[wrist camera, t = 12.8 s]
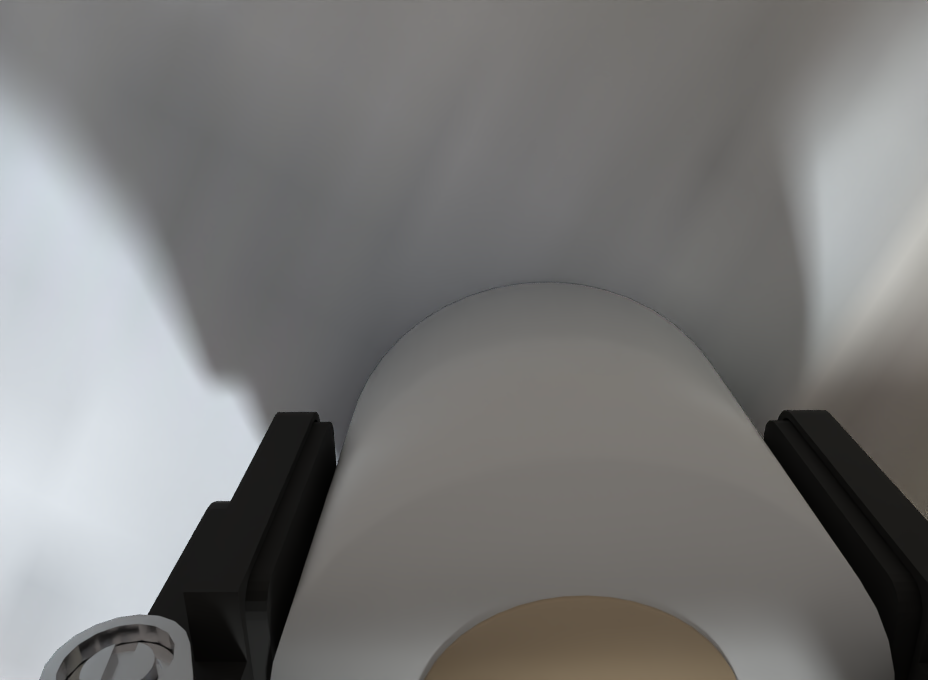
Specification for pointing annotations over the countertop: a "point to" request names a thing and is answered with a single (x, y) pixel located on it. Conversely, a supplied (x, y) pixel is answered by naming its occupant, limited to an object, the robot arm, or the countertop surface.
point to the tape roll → (567, 515)
